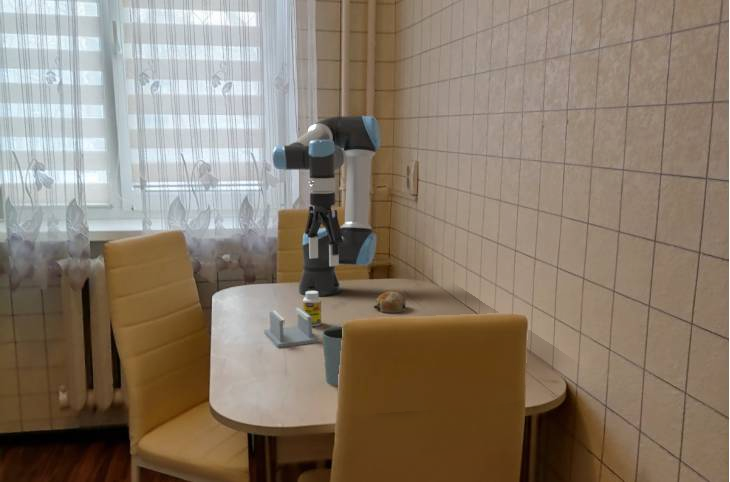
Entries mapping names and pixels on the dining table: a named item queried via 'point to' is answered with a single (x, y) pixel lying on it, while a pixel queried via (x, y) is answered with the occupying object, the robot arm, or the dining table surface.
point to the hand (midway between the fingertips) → (323, 261)
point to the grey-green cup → (332, 353)
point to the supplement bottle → (313, 306)
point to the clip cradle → (291, 330)
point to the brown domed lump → (390, 302)
